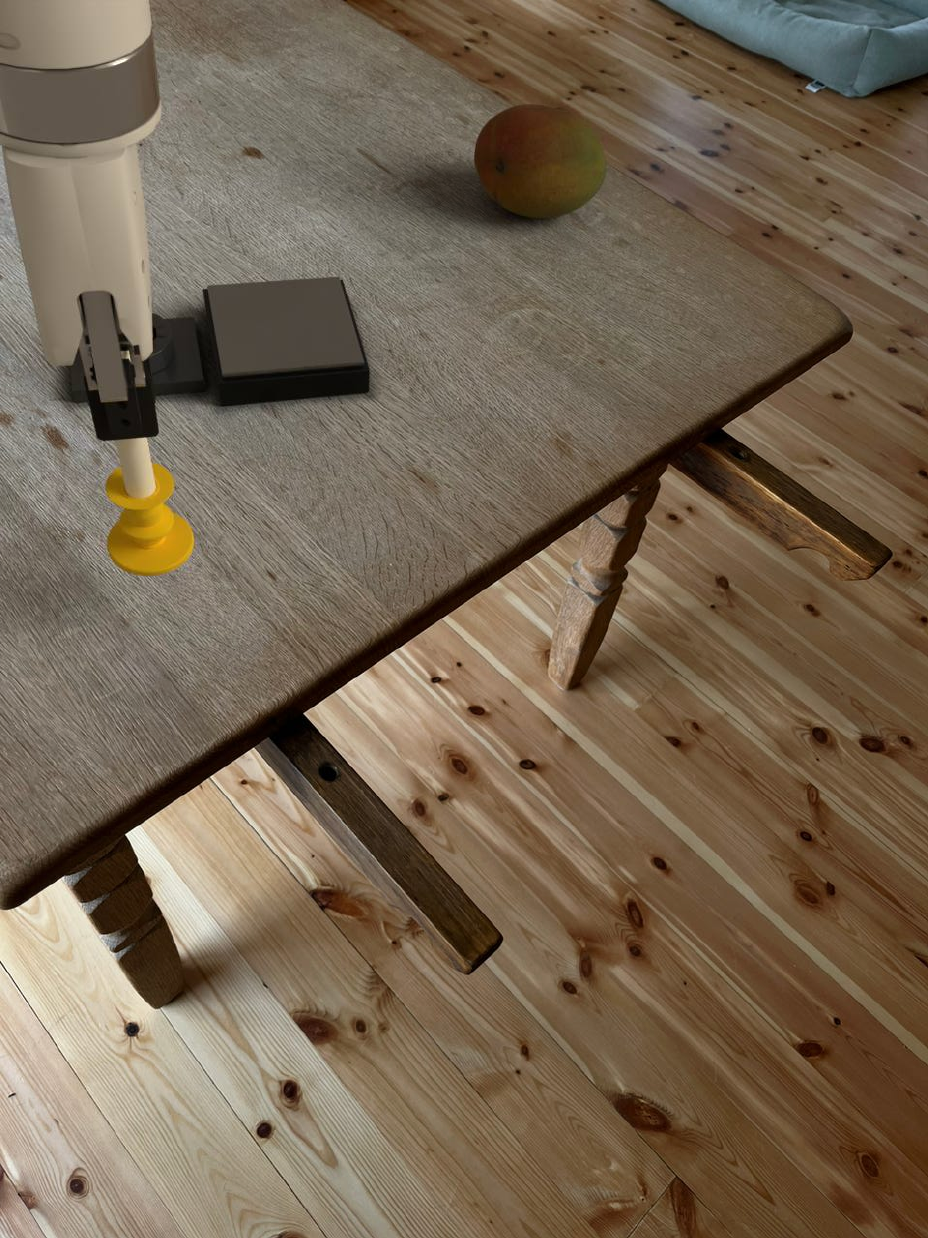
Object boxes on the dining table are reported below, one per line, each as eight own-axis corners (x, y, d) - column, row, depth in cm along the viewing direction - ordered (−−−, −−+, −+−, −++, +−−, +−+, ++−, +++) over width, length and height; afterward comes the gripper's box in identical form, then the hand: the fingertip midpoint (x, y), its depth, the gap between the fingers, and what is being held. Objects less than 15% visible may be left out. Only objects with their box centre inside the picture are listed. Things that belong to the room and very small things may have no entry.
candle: (207, 559, 63) (182, 360, 51) (126, 588, 61) (79, 388, 48) (174, 503, 65) (142, 301, 53) (95, 530, 63) (43, 325, 51)
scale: (221, 406, 80) (217, 377, 78) (205, 312, 87) (201, 282, 84) (369, 392, 83) (370, 363, 80) (342, 302, 90) (343, 272, 87)
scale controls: (75, 403, 79) (66, 373, 76) (72, 337, 83) (64, 307, 81) (205, 391, 81) (201, 361, 79) (195, 327, 86) (191, 298, 83)
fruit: (451, 196, 101) (460, 96, 93) (540, 161, 107) (557, 64, 99) (529, 255, 97) (546, 155, 88) (619, 215, 102) (642, 118, 94)
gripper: (-36, -16, 44) (51, 333, 58) (-49, 183, 35) (57, 535, 49) (144, -12, 45) (184, 325, 60) (174, 178, 37) (213, 519, 51)
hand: (126, 418), depth 55 cm, fingers closed on candle
